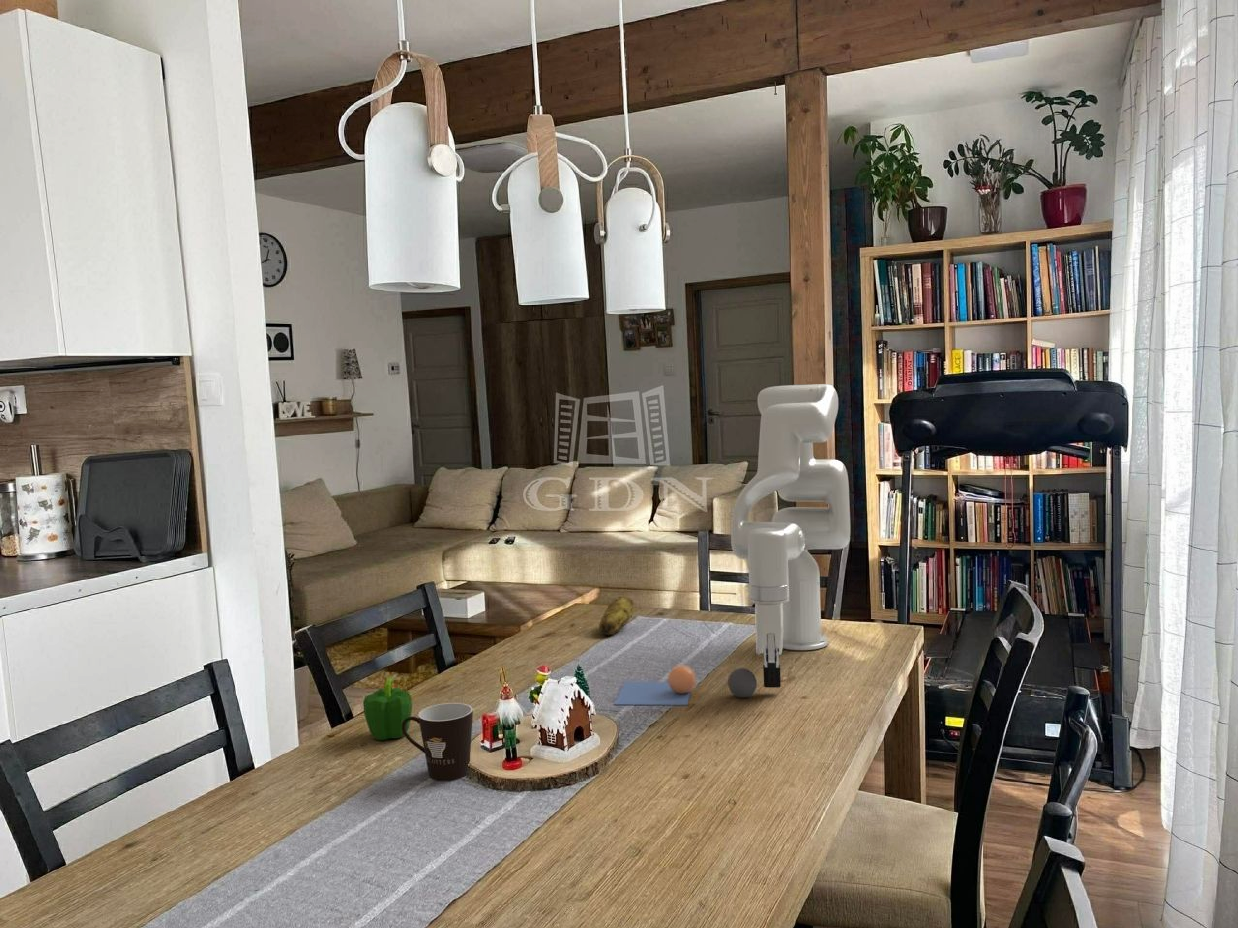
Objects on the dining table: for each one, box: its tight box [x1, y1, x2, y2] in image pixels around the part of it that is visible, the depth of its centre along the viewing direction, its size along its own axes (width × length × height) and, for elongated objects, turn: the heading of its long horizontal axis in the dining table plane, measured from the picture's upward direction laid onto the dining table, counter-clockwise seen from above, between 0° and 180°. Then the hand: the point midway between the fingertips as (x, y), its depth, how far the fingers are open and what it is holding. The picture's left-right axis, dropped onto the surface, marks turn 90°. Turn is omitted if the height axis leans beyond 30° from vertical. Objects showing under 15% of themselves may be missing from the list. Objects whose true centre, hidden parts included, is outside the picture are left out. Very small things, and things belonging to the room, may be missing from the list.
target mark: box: [614, 681, 691, 706], centre depth 185 cm, size 14×14×1 cm
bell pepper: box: [362, 677, 413, 741], centre depth 167 cm, size 8×8×10 cm
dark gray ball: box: [727, 667, 758, 698], centre depth 180 cm, size 6×6×6 cm
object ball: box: [667, 664, 697, 694], centre depth 184 cm, size 6×6×6 cm
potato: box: [598, 596, 635, 636], centre depth 235 cm, size 8×13×8 cm, turn 137°
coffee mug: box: [402, 702, 474, 782], centre depth 150 cm, size 12×9×10 cm
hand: (772, 685), depth 181 cm, fingers closed
